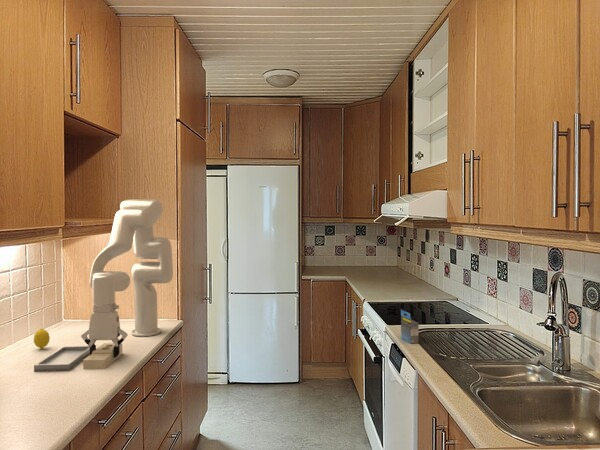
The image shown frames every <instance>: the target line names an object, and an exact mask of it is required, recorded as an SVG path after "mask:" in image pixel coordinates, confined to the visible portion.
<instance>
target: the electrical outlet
mask: <svg viewBox="0 0 600 450" xmlns="http://www.w3.org/2000/svg"><path fill="white" fill-rule="evenodd" d="M114 346H115V345H114V343H113V342H112V343H111V342H110V343H108V342H107V343H103V344H101V345H100V346H98V347H96V349H95V350H94V351H93V352H92V354H91V355H88V356H87V357H86V358H85V359H83V360H82V364H83V365H82V367H83V368H82V369H83V370H105V368H107V367H108V366H109V365H111V364H112V363H113V362H115V360H117V359H118V358H119V357H120V356H122V355H123V354H124V353H123V350H124V349H123V342H122V343H121V344H120V345H119V346H120V353H119V355H118V356H117V357H116V358H114Z"/></svg>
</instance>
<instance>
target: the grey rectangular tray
mask: <svg viewBox="0 0 600 450" xmlns="http://www.w3.org/2000/svg"><path fill="white" fill-rule="evenodd" d="M88 356H90V347H89V346H88V345H82V346H81V345H78V346H77V345H75V346H73V345H71V346H61V347H60V348H58V349H56V350H55V351H54V352H52V353H51V354H49V355H47V356H45V357H44V358H42V359H41V360H39V361H38V362H36V363H35V364H34V365H33V372H67V371H68V372H70V370H72V369H73V368H75V367H76V366H77V365H78V364H79V363H81V362H83V360H84V359H85V358H87V357H88Z"/></svg>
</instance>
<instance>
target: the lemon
mask: <svg viewBox="0 0 600 450" xmlns="http://www.w3.org/2000/svg"><path fill="white" fill-rule="evenodd" d="M50 339H51V338H50V334H49V331H47V330H46V329H43V328H39V330H37V331H36V332H35V333H34V336H33V343H34V345H35V347H37V348H39V349H40V350H43V349H44V348H45V347H47V346H48V345H49V343H50Z"/></svg>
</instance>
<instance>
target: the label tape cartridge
mask: <svg viewBox="0 0 600 450" xmlns="http://www.w3.org/2000/svg"><path fill="white" fill-rule="evenodd" d="M419 324H420V323H419V322H417V321H415V320H414V319H412V318H411V313H409V312H407V311H406V310H404V309H400V335H401V336H400V339H401V340H403V341H405V342H407V343H408V344H410V345H411V344H419Z"/></svg>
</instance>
